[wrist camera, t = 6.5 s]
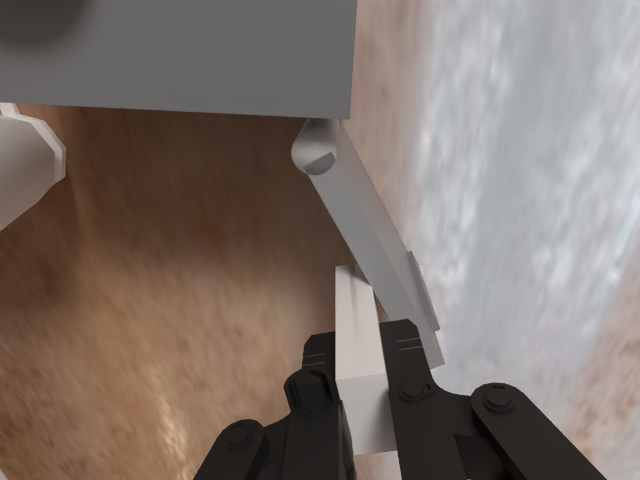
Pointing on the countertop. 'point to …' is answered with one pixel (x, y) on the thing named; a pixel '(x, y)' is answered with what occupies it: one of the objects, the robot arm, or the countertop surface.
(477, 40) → the countertop surface
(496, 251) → the countertop surface
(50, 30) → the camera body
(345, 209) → the door
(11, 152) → the cup
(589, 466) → the robot arm
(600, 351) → the countertop surface
